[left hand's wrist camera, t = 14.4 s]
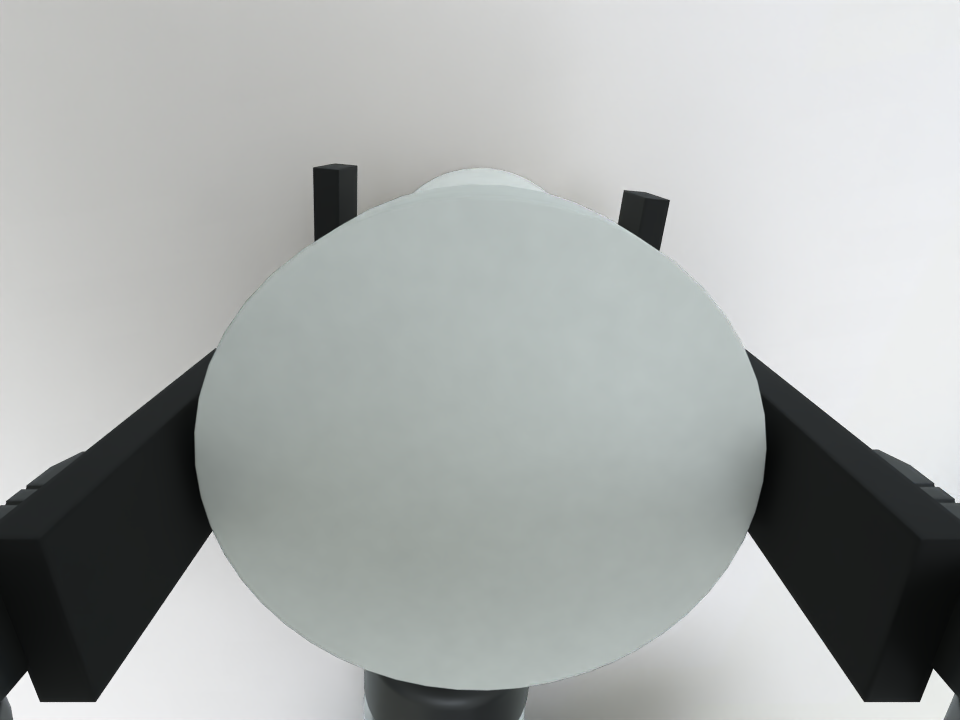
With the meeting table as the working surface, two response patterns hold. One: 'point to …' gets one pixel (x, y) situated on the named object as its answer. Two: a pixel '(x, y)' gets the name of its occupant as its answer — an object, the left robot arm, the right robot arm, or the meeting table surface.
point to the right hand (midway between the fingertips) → (492, 181)
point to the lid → (480, 440)
